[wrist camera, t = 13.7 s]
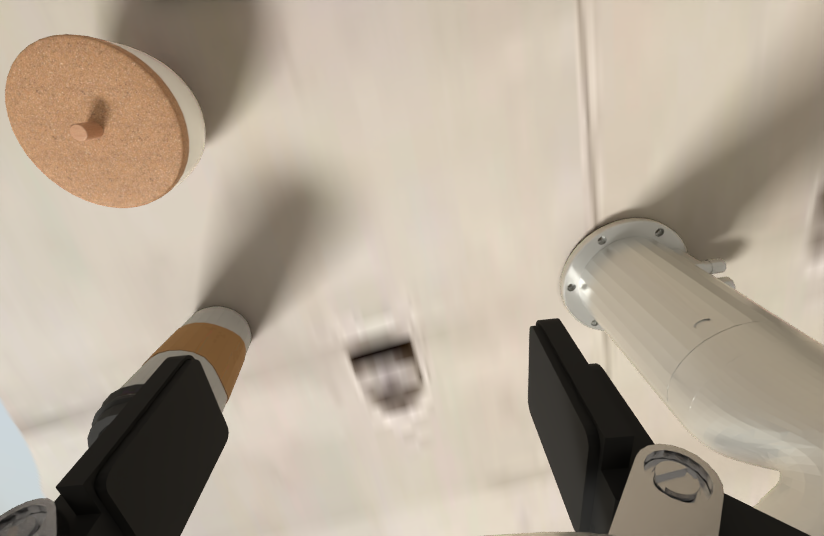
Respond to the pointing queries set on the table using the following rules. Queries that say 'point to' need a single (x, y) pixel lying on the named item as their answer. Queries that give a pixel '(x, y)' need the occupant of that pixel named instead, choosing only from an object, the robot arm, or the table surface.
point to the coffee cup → (203, 339)
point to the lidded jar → (104, 119)
